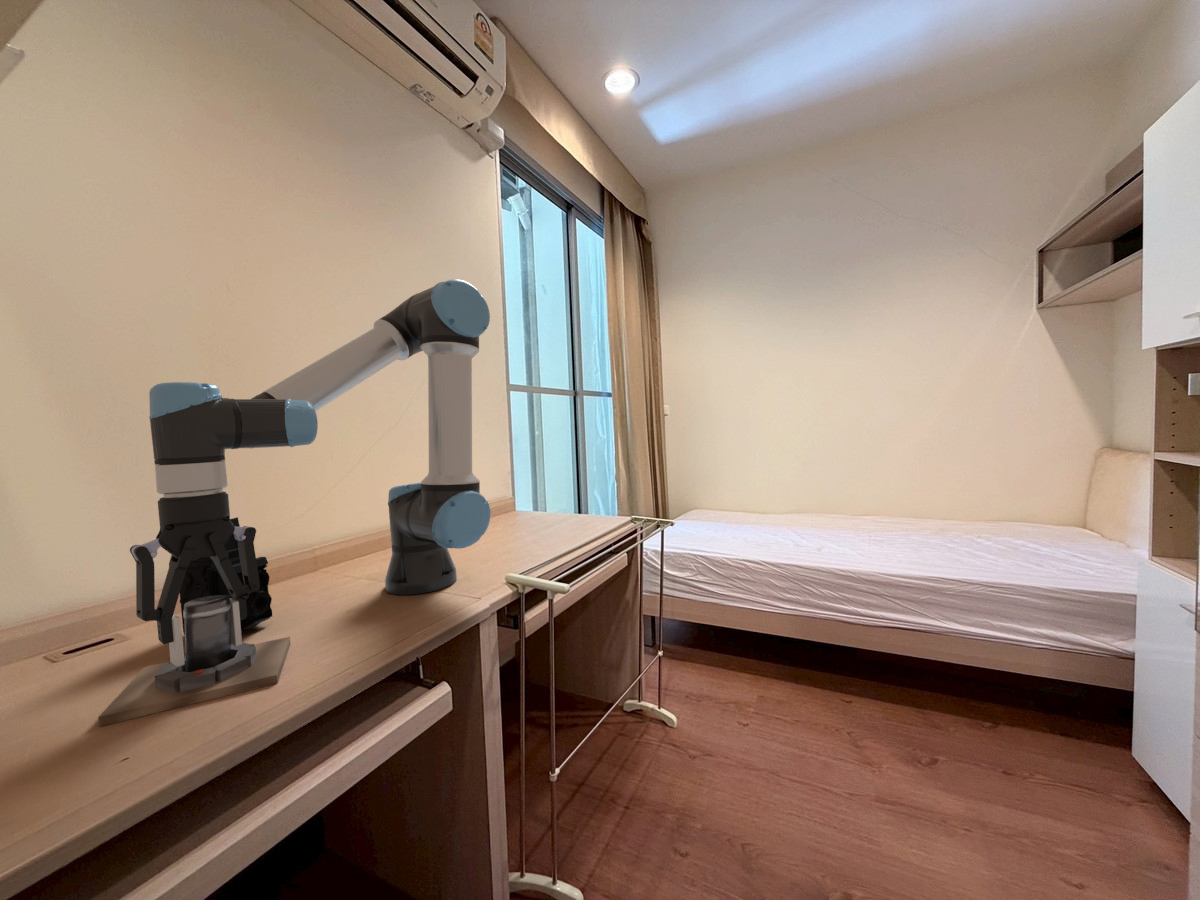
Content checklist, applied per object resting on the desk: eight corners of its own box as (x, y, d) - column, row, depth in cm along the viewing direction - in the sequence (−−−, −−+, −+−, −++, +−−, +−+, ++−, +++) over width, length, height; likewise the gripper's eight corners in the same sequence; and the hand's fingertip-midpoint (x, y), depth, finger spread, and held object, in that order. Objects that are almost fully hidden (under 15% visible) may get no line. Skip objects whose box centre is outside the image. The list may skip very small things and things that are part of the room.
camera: (237, 644, 78) (228, 526, 77) (173, 640, 80) (163, 526, 79) (289, 620, 87) (280, 514, 86) (230, 617, 90) (221, 515, 89)
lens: (238, 666, 67) (236, 598, 67) (193, 682, 63) (191, 610, 63) (222, 657, 70) (221, 592, 70) (178, 672, 66) (176, 602, 66)
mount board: (290, 643, 77) (289, 625, 77) (277, 683, 65) (275, 661, 64) (145, 674, 69) (143, 654, 68) (99, 726, 56) (96, 701, 56)
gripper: (259, 484, 75) (270, 622, 76) (89, 502, 59) (106, 677, 60) (281, 485, 71) (292, 631, 72) (104, 505, 55) (122, 693, 56)
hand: (207, 652), depth 66 cm, fingers open, 6 cm apart
